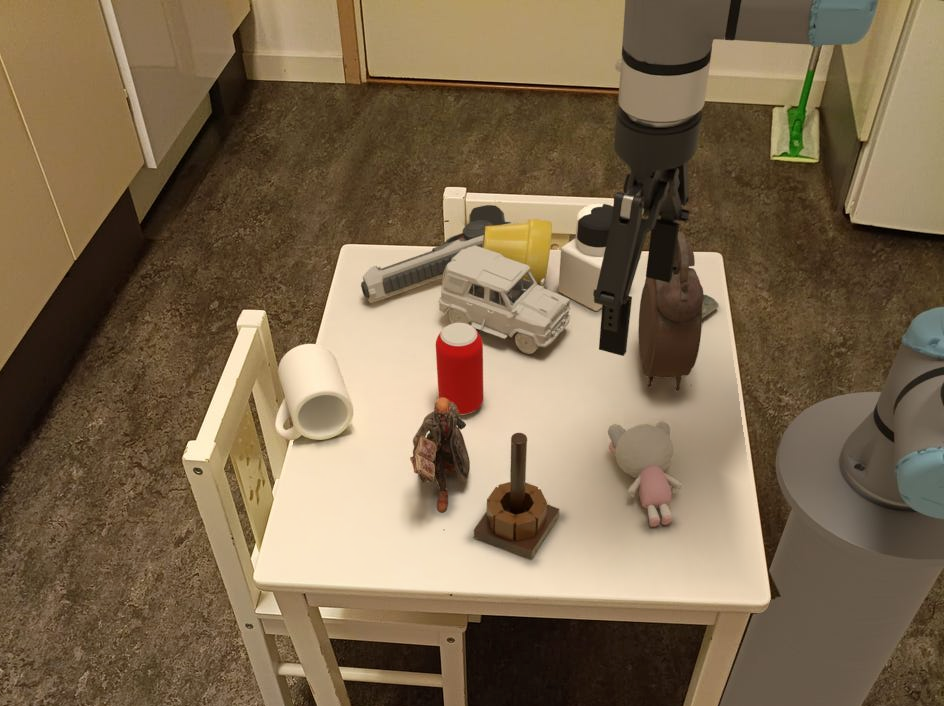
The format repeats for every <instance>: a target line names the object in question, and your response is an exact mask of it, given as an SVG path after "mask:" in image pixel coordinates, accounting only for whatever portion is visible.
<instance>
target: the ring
mask: <svg viewBox="0 0 944 706" xmlns="http://www.w3.org/2000/svg"><path fill="white" fill-rule="evenodd" d="M547 504H548V501H547V499H546V497H545V496H544V493H543V491H542V489H541V488H539V486H537V485H534V484H531V483H528V482H527V481H525V507H524V509H526V510H529V511H528V512H525V513H521V514H517V515H515V514H513V513H510V512H507V511H505V509H509V508H510V481H509V482H505V483H504V482H503V483H500V484H498V485H497V486H495V487H494V489H493V490H492V492H491V493H490V494H489V496H488V497H487V498H486V512H487V520H488V522H489V524H490V527H491V529H492V531H493V532H495V534H496V535H499V536H501V537H504V538H506V539H509V540H512V541H513V540H514V539H515V540H516V541H518V540H522V539H526V538H530V537H534V536H535V534H538V533H539V532H540V530H541V528H542V527H543V525H544V524H545V522H546V513H547Z"/></svg>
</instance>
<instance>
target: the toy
mask: <svg viewBox="0 0 944 706" xmlns="http://www.w3.org/2000/svg"><path fill="white" fill-rule="evenodd" d="M607 435H608V436H609V439H610V442H609V444H608V450H609V451H610V453H611V454H612V455H615V459H616V462H617V465H618V467H619V468H620V469H621V470H622V471H623V473H625V474H626V475H628V476H629V477H632V478H635V480H634V482H633V483H632V484H631V485H630V486H629V488H628V489H627V495H628V496H630V497H631V498H635V497H636V492H637V490H638V496H639V497H638V498H639V500H640V504H641V506H642V507H643V508H644V509H647V515H648V520H649V526H650V527H653V528H654V527H657V526H659V524H662V525H663V526H666V525H670V524H671V523H672V522H673V515H672V513H671V510H670V508H669V505H670V504H671V502H672V493H675V492H676V490H677V491H679V490H681V488H682V483H681V482H680V480H678V479H677V478H674V477H673V476H671V475H669V474H667V473H665V471H666V470H667V469H668V468H669V466H670V465H671V462H672V460H673V456H674V446H673V442H672V439H671V427H670V424H669V423H668V422H666V421H659V422H658V423H656V424H655V425H653V424H647V423H643V424H638V425H633V426H632V427H630V428H628V429H627V430H626V429H625V428H623V427H622V426H621V425H619V424H617V423H613V424H612V425H610V426H609V427H608V429H607ZM657 509H659V512H660V516H661V518H660V516H659V513H658V511H657Z"/></svg>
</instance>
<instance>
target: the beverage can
mask: <svg viewBox="0 0 944 706" xmlns="http://www.w3.org/2000/svg"><path fill="white" fill-rule="evenodd" d="M435 340H436V341H435V357H436V358H435V359H436V374H437V389H438V391H437V393H438V399H439V398H446V399H448V400H449V401H450V402H453V403H454V404H455V405H456V406H457V409H458V410H459V414H458V416H464V415H469V414H472V413H474V412H476V411H478V409H479V408H481V406H482V404H483V402H484V343H483V338H482V336H481V335H480V333H479V332H478V329H476V328H474V327H473V326H471V324H470V325H469V324H465V323H453V324H452V323H449V324H448V325H445V326H444V327H443V328H442V329H441V330H440V332H439V334H438V335H437V338H436V339H435Z"/></svg>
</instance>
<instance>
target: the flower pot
mask: <svg viewBox="0 0 944 706" xmlns="http://www.w3.org/2000/svg"><path fill="white" fill-rule="evenodd" d="M518 223H519V224H517V223H515V224H507V225H495V226H486V227H485V230H484V237H483V244H482V248H484V249H487V250H490V251H493V252H497V253H500V254H501V255H502V256H504V257H505V258H508V259H511V260H514V261H517V262H520V263H523V264H526V265H528V266H529V267H530V269H529V271H530V273H531V274H532V276H533V278H534V279H535V281H536V280H537V281H536V283H537V285H539V286H541V280H542V279H543V278H544V284H543V285H542V286H543V287H544V288H545V283H546V277H547V273H548V266H549V261H550V253H551V245H552V233H553V225H552V221H550V220H545V219H538V218H537V219H536V218H530V219H528V221H527V222H521V223H520V222H518ZM533 272H534V273H533ZM535 277H536V278H535ZM522 279H525V280H529V281H531V280H530V279H529V277H528V275H527V273H526V274H525V277H524V276H523V278H522Z"/></svg>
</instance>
